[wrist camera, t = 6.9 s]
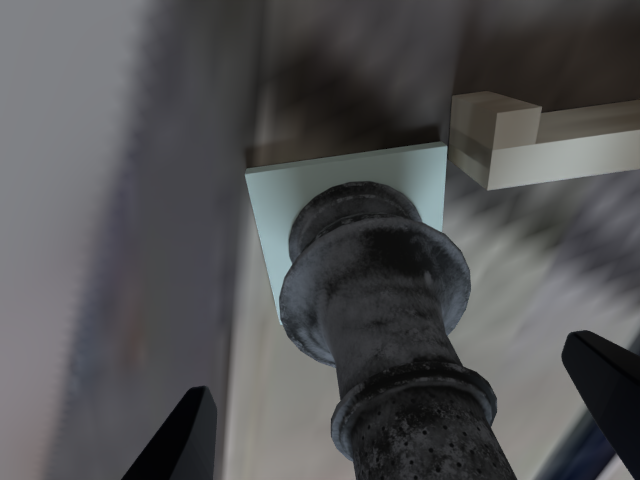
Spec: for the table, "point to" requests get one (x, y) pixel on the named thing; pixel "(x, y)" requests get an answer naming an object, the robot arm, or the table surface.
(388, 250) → the dark grey chess piece
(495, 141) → the beige bracket
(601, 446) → the table surface
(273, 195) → the pad
